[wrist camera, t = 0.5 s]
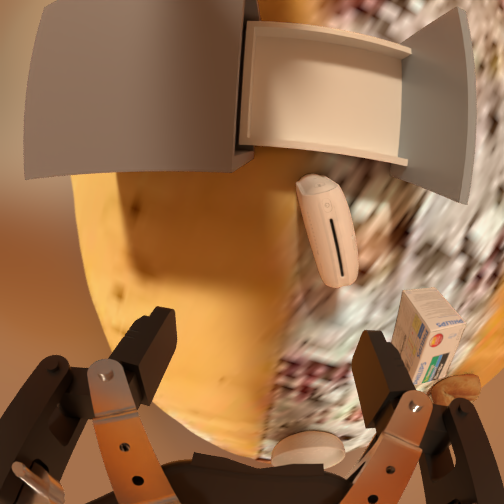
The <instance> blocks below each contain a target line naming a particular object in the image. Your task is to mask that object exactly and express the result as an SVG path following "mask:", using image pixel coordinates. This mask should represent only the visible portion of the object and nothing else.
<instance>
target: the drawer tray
mask: <svg viewBox="0 0 504 504" xmlns="http://www.w3.org/2000/svg"><path fill="white" fill-rule="evenodd" d="M476 119H477V99H476V77H475V65H474V56H473V48H472V41H471V35H470V29H469V24H468V19H467V14H466V11H464V10H463V9H461V8H459V7H455V8H454V9H452V10H450V11H449V12H447V13H446V14H444V15H442V16H441V17H439V18H438V19H436V20H435V21H433V22H432V23H430V24H428V25H427V26H425V27H424V28H422V29H421V30H420V31H418V32H417V33H415V34H414V35H412V36H411V37H409V38H408V39H406V40H405V41H404V42H402V43H401V44H396V43H393V42H390V41H386V40H383V39H379V38H375V37H372V36H368V35H363V34H359V33H355V32H350V31H345V30H340V29H334V28H328V27H322V26H315V25H307V24H298V23H287V22H271V21H247V28H246V41H245V55H244V69H243V84H242V99H241V116H240V133H239V145H256V146H271V147H284V148H294V149H304V150H313V151H321V152H329V153H336V154H343V155H350V156H356V157H362V158H368V159H373V160H379V161H384V162H389V163H391V169H390V176H392V177H395V178H398V179H401V180H404V181H406V182H409V183H412V184H414V185H417V186H420V187H422V188H425V189H427V190H430V191H432V192H435V193H437V194H439V195H442V196H444V197H447V198H449V199H451V200H454V201H456V202H458V203H461V204H465V205H467V204H468V198H469V192H470V186H471V180H472V172H473V164H474V154H475V141H476Z"/></svg>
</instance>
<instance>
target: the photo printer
mask: <svg viewBox="0 0 504 504" xmlns="http://www.w3.org/2000/svg"><path fill="white" fill-rule="evenodd" d="M296 191H297V196H298V201H299V205H300V209H301V213H302V217H303V221H304V224H305V228H306V232H307V235H308V239H309V242H310V245H311V248H312V251H313V255H314V258H315V261H316V264H317V268H318V271H319V274H320V277H321V278H322V280H323V282H324V283H325V284H326V285H327V286H329V287H332V288H340V287H342V286H346V285H351V284H352V283H353V282H354V281H355V280H356V278H357V275H358V269H359V261H358V251H357V243H356V237H355V232H354V227H353V222H352V218H351V214H350V210H349V207H348V204H347V202H346V198H345V196H344V193H343V191H342V189H341V188H340V186H339V185H338V184H337V183H335V182H334V181H332V180H331V179H329V178H328V177H326V176H325V175H318V174H313V173H312V174H307V175H305V176H303V177H302V178H301V179H300V180H299V181H297V182H296Z"/></svg>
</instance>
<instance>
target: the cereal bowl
mask: <svg viewBox="0 0 504 504" xmlns="http://www.w3.org/2000/svg"><path fill="white" fill-rule="evenodd" d="M344 457H345V449H344V445H343V443H342V441H341V440H340V439H339V438H338V437H336V436H335V435H333V434H330V433H327V432H320V431H303V432H299V433H297V434H294V435H291V436H288V437H286V438H285V439H283V440H281V441H280V442H279V443H278V444H277V445H276V446H275V447H274V449H273V452H272V457H271V463H272V465H273V466H274V467H276V466H282V465H288V464H323V463H324V469H326V468H329V467H332V466H334V465H336V464H338V463H339V462H340V461H342V460H343V459H344Z"/></svg>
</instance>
